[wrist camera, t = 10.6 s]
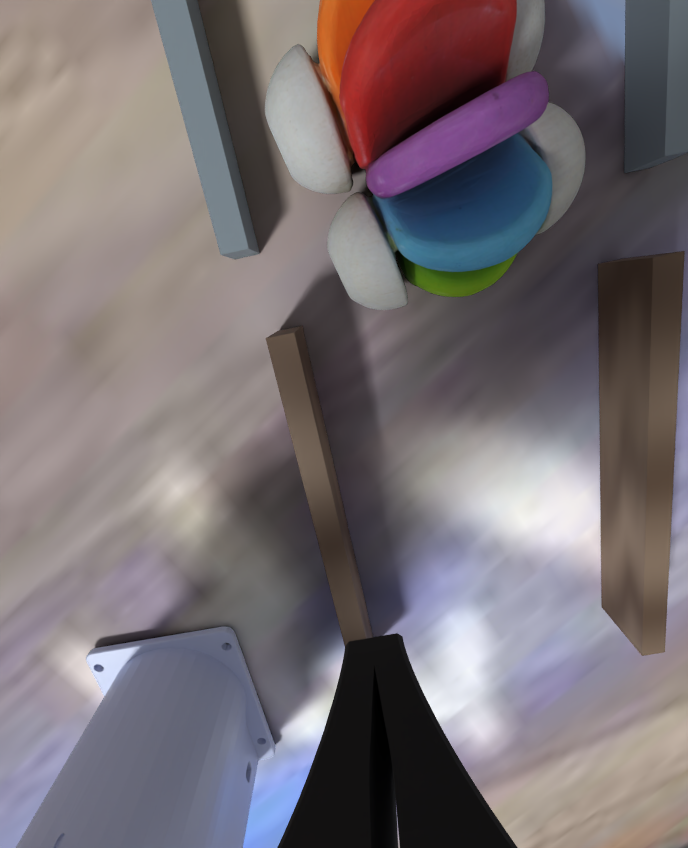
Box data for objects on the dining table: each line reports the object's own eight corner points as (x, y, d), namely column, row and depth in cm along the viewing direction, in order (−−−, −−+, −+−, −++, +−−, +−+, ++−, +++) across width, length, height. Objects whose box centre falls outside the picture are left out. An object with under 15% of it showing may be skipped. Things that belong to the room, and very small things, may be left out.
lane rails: (621, 603, 21) (665, 652, 18) (356, 647, 22) (358, 699, 19) (623, 258, 16) (684, 251, 13) (278, 330, 17) (265, 338, 14)
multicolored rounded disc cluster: (475, -47, 13) (617, -410, 6) (561, 242, 16) (727, 204, 9) (250, 89, 14) (167, -96, 8) (366, 338, 17) (383, 369, 10)
